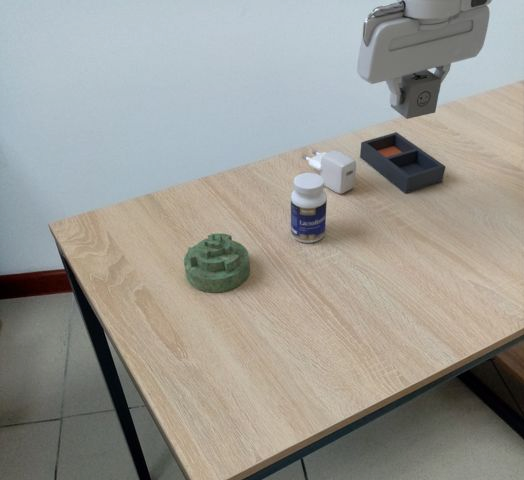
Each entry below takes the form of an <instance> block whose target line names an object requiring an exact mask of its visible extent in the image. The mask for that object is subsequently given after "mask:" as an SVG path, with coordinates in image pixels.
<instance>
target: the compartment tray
mask: <svg viewBox="0 0 524 480" xmlns="http://www.w3.org/2000/svg"><path fill="white" fill-rule="evenodd" d="M359 151H360V153H359V158H360V159H362V160H363V161H364V162H365V163H366V164H367V165H368V166H371V167H372V169H374V170H375V171H376V172H378V173H379V174H380V175H381V176H383V177H384V178H385V179H386V180H388V181H389V182H390V183H391V184H393V185H394V186H395V187H396V188H398V189H399V190H400V191H401V192H402V193H404V194H409V193H412V192H415V191H419V190H422V189H424V188H427V187H430V186H434V185H437V184H440V183H443V180H444V175H445V171H446V165H444V164H443V163H441V162H440V161H439V160H437V159H436V158H434V157H433V156H431V155H430V154H428V153H427V152H426V151H425V150H424V149H422V148H420V147H418V146H417V145H416V144H414V143H413V142H412V141H410V140H409V139H407V138H405V137H404V136H403V135H401V134H400V133H399V132H397V131H396V132H392V133H388V134H385V135H381V136H378V137H374V138H370V139H368V140H364V141H361V143H360V150H359Z"/></svg>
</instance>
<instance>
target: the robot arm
mask: <svg viewBox="0 0 524 480" xmlns="http://www.w3.org/2000/svg"><path fill="white" fill-rule="evenodd" d="M492 2H493V0H396V2H393V3H390V4H388V5H384V6H383V5H380V6H377V7H374V8H373V9H372V12H370V13H369V14H368V15H367V16H366V17H365V19H364V21H363V24H362V36H361V41H360V46H359V51H358V57H357V64H356V72H357V74H358V75H359V77H360V78H361V79H362V80H364V81H365V82H367V83H369V84H371V85H374V84H378V83H383V82H385V83H386V85H387V88H388V89H389V92H390V95H389V104H390V105H391V104H392V105H394V106H398V105H401V104H403V103H404V98H405V93H404V92H403V91H401V90H400V89H399V86H398V84H400V83H401V82H402V76H405V75H409V74H413V73H416V72H420V71H424V70H428V71H429V70H431V69H435V70H434V72H433V74H435V75H436V76H438V77H439V78H441V84H440V87H441V85H442V83H443V81H444V80H445V78H446V77H447V75H448V74H449V72H450V71H451V67H452V64H455V63H458V62H462V61H465V60H469V59H473V58H476V57H477V56H478V55H479V54H480V53H481V51H482V49H483V47H484V45H485V41H486V37H487V32H488V27H489V21H490V8H489V6H488V5H490V4H491V3H492ZM440 91H441V89H440V90H439V93H440Z"/></svg>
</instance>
